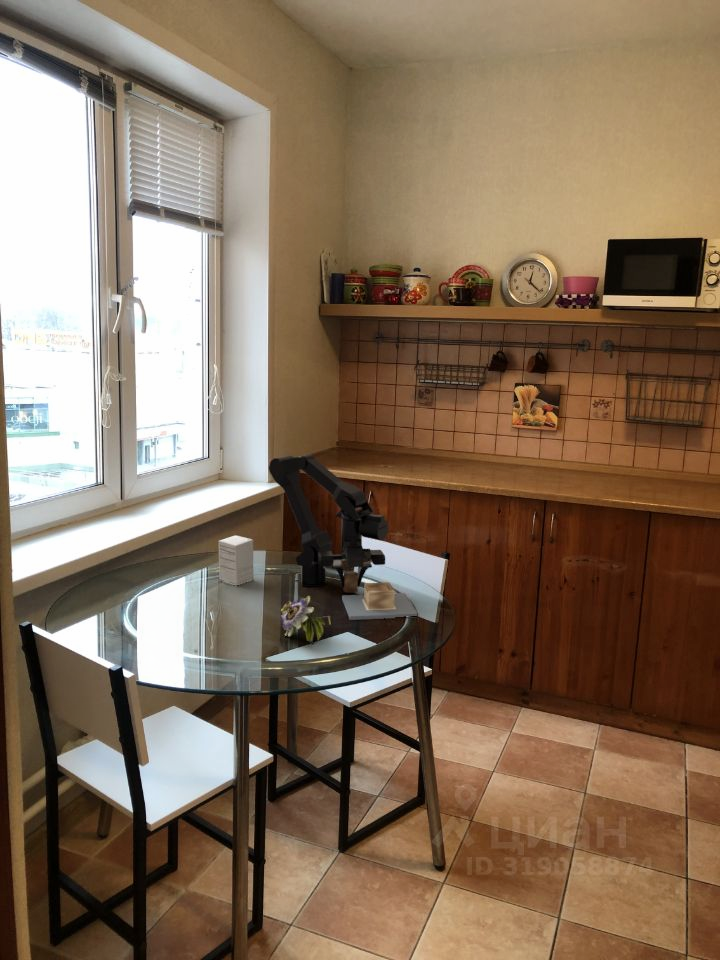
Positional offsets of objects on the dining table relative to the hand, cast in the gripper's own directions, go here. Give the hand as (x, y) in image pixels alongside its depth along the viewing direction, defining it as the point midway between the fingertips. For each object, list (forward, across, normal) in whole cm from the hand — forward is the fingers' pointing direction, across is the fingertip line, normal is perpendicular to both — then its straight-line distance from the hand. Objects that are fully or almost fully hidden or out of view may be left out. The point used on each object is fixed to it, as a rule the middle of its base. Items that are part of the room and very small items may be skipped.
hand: (350, 586), depth 221 cm
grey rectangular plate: (+2, +6, -12) cm, 14 cm away
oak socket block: (+1, +6, -12) cm, 13 cm away
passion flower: (+2, -16, -27) cm, 32 cm away
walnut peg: (+1, 0, 0) cm, 1 cm away
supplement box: (+2, -32, +13) cm, 35 cm away
